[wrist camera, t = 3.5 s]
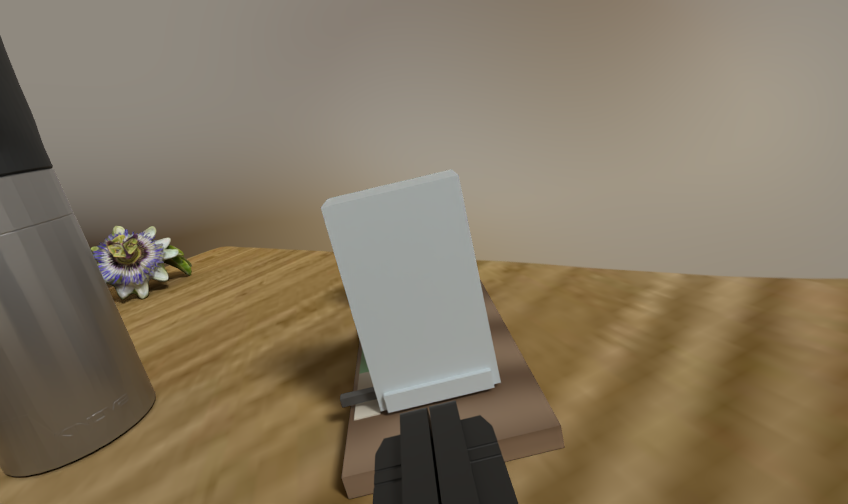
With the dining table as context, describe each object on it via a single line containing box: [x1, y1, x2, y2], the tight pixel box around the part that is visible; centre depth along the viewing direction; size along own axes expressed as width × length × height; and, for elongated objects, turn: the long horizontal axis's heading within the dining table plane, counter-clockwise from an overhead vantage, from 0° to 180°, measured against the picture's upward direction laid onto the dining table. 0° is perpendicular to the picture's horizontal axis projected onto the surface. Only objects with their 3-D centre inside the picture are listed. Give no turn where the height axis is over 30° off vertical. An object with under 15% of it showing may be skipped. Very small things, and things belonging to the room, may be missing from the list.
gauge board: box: [342, 280, 564, 499], centre depth 31 cm, size 22×10×8 cm, turn 5°
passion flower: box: [91, 226, 192, 300], centre depth 67 cm, size 11×11×12 cm
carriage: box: [321, 169, 501, 413], centre depth 27 cm, size 8×8×11 cm
